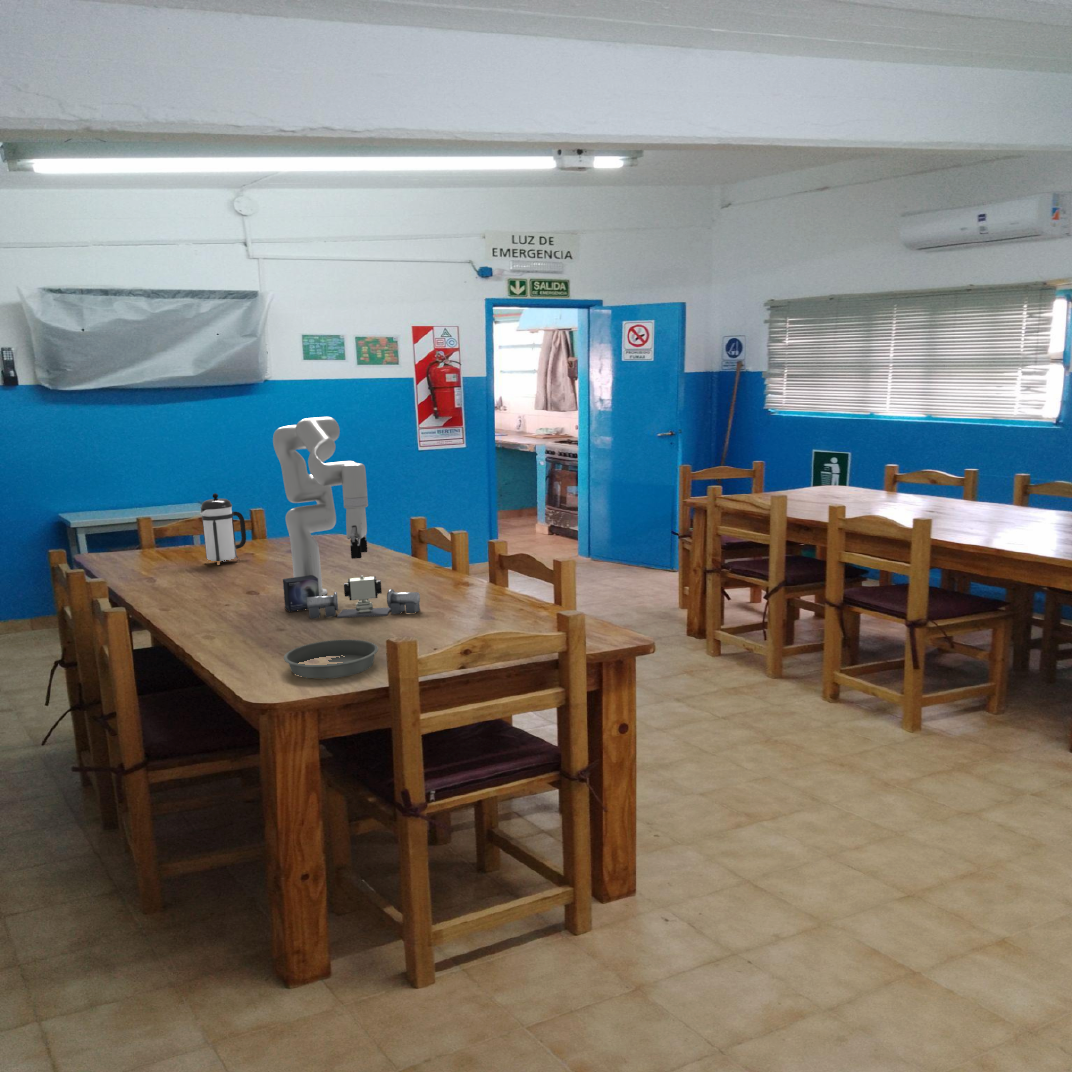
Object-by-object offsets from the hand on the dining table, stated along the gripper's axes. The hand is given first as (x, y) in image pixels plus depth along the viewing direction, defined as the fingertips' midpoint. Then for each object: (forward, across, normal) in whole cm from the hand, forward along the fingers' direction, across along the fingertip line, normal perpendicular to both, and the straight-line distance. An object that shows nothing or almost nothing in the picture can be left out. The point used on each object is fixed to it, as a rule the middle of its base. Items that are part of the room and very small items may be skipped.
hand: (359, 555), depth 330 cm
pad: (+19, 0, 0) cm, 19 cm away
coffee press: (+22, -106, -81) cm, 135 cm away
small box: (+20, -10, -23) cm, 32 cm away
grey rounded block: (+19, +1, +14) cm, 23 cm away
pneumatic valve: (+19, 0, 0) cm, 19 cm away
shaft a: (+19, +1, -13) cm, 23 cm away
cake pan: (+19, +60, +3) cm, 63 cm away
